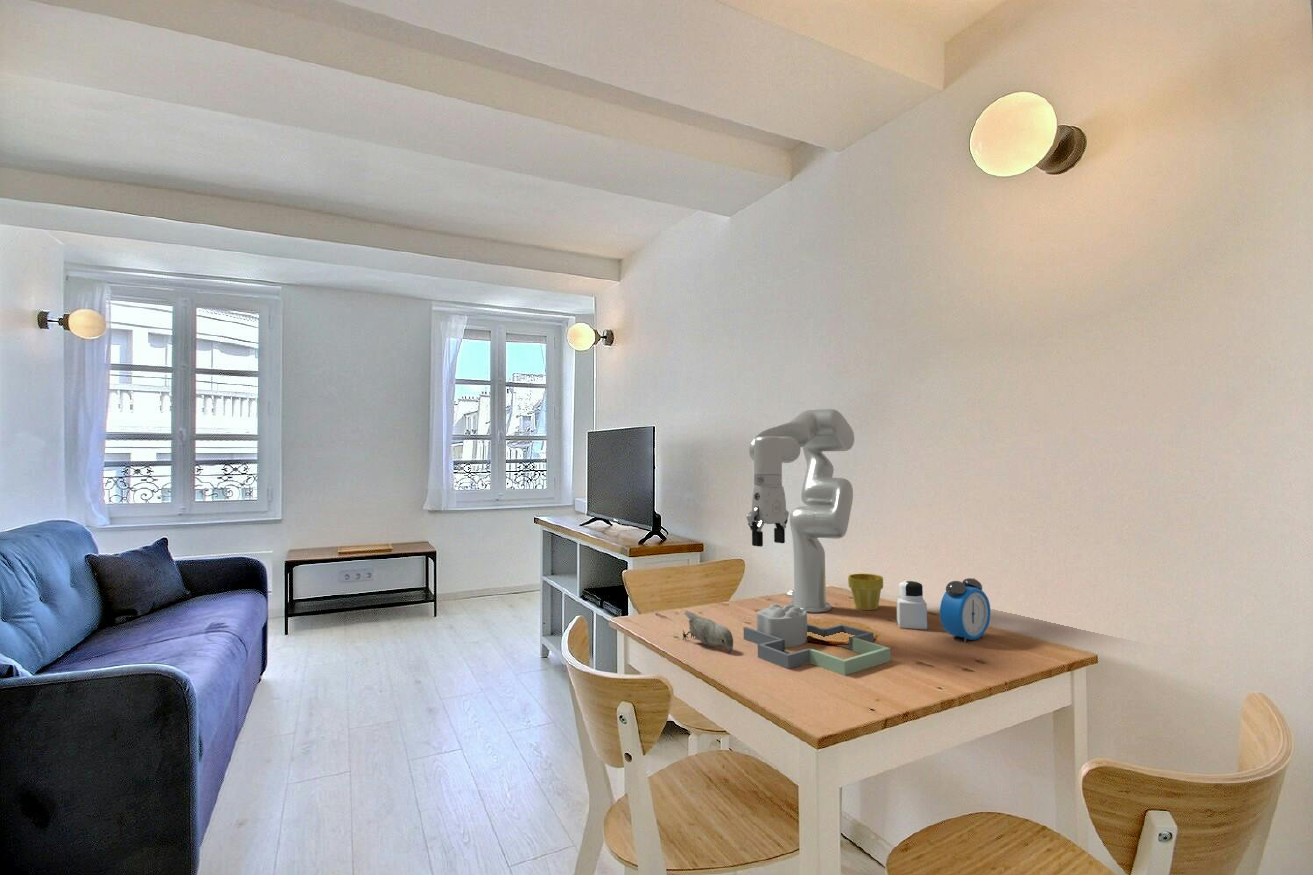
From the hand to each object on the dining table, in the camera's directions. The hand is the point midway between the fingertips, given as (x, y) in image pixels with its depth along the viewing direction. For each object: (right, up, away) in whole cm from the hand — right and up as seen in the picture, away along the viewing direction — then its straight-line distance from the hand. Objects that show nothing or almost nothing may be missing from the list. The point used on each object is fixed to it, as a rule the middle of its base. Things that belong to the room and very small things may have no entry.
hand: (768, 544), depth 170 cm
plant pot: (+35, -24, +24) cm, 49 cm away
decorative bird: (-17, -24, -11) cm, 32 cm away
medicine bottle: (+41, -24, +4) cm, 47 cm away
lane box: (+8, -23, -16) cm, 29 cm away
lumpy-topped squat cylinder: (+3, -24, -8) cm, 25 cm away
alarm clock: (+50, -23, -8) cm, 55 cm away
